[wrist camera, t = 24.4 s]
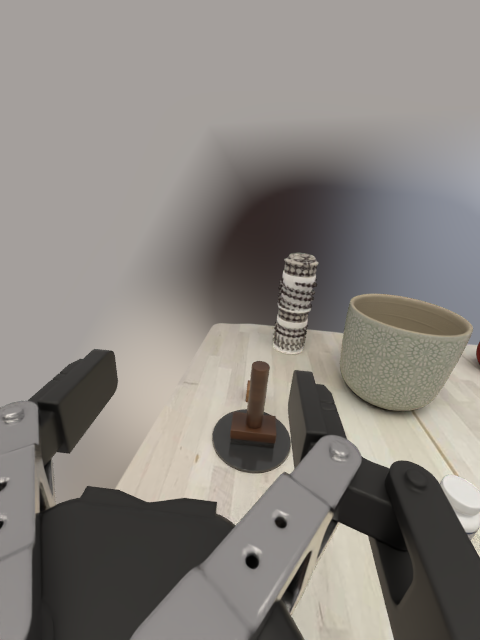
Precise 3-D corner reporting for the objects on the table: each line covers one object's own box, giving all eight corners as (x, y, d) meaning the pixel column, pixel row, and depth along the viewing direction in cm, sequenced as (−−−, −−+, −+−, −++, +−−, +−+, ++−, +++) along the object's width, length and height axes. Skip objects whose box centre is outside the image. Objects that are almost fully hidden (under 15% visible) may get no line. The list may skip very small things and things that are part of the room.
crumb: (260, 403, 56) (262, 391, 55) (245, 401, 56) (247, 389, 55) (261, 393, 59) (262, 381, 58) (246, 392, 59) (247, 380, 58)
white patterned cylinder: (309, 344, 80) (326, 255, 70) (298, 359, 73) (315, 261, 62) (279, 335, 84) (291, 249, 74) (265, 348, 77) (277, 254, 66)
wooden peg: (274, 449, 46) (286, 376, 40) (229, 444, 46) (235, 371, 40) (273, 429, 50) (284, 360, 44) (232, 424, 50) (237, 355, 44)
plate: (214, 476, 41) (214, 473, 41) (210, 412, 53) (210, 410, 53) (300, 470, 43) (301, 467, 43) (278, 410, 55) (279, 407, 55)
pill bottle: (404, 512, 38) (427, 466, 35) (445, 518, 38) (472, 472, 34) (424, 558, 34) (452, 510, 30) (470, 565, 33) (504, 517, 30)
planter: (457, 411, 58) (498, 327, 51) (387, 440, 50) (424, 345, 42) (375, 359, 75) (396, 290, 68) (312, 374, 67) (328, 297, 59)
